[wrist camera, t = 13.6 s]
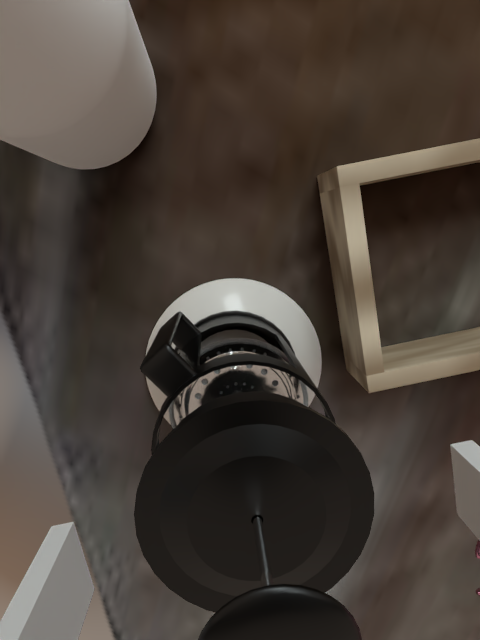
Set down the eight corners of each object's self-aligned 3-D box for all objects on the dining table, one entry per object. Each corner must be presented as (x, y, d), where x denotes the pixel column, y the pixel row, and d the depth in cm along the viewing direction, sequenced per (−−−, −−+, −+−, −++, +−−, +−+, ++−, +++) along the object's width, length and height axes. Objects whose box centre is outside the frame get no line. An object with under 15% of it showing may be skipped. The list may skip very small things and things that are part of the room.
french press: (328, 381, 34) (562, 683, 11) (236, 461, 35) (282, 893, 12) (221, 265, 32) (247, 354, 9) (125, 354, 32) (-68, 638, 10)
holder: (317, 176, 31) (336, 166, 27) (557, 129, 32) (620, 110, 27) (346, 369, 34) (368, 393, 29) (565, 324, 35) (623, 339, 30)
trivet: (127, 297, 32) (126, 298, 32) (304, 261, 33) (306, 262, 32) (168, 460, 35) (167, 464, 34) (331, 426, 35) (333, 429, 35)
